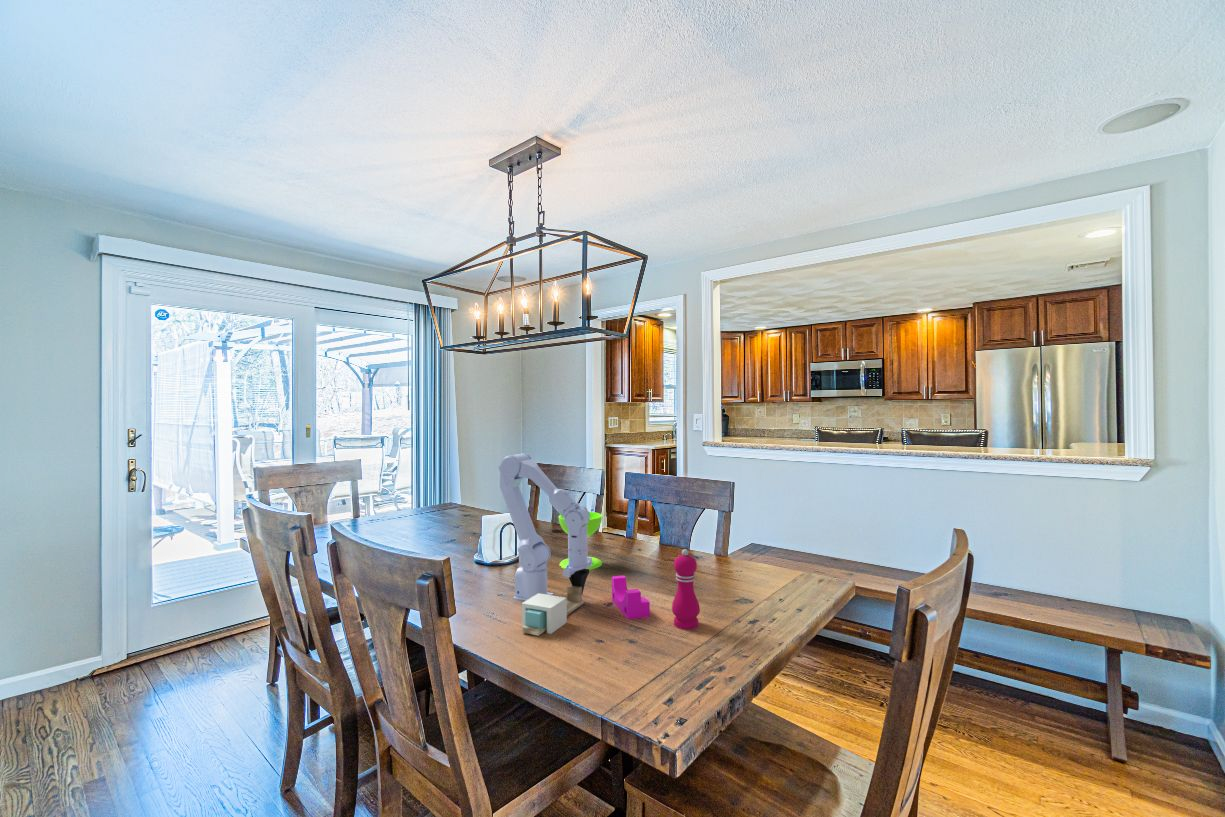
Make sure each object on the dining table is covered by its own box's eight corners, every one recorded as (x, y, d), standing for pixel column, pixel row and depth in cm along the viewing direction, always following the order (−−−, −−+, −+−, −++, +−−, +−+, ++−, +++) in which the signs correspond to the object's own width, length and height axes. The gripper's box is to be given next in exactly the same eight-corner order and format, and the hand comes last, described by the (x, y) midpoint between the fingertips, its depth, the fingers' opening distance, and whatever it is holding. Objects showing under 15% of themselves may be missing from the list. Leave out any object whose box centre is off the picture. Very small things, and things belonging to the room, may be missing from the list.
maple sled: (522, 632, 134) (522, 613, 134) (569, 600, 156) (569, 584, 156) (538, 635, 132) (538, 616, 132) (583, 603, 154) (583, 586, 154)
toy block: (649, 618, 144) (649, 590, 144) (628, 621, 142) (627, 593, 142) (631, 599, 158) (631, 574, 158) (611, 602, 156) (611, 576, 156)
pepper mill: (682, 633, 133) (681, 554, 133) (666, 623, 140) (665, 547, 140) (705, 627, 137) (704, 550, 137) (689, 618, 143) (688, 544, 143)
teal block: (525, 628, 135) (525, 611, 135) (534, 622, 138) (534, 606, 138) (539, 630, 133) (539, 614, 133) (548, 624, 137) (548, 608, 137)
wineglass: (602, 571, 185) (601, 520, 185) (556, 571, 186) (555, 520, 186) (603, 558, 201) (602, 511, 201) (561, 558, 202) (560, 511, 202)
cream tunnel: (521, 629, 137) (521, 603, 137) (538, 618, 144) (538, 593, 144) (550, 635, 133) (550, 608, 133) (566, 623, 141) (566, 597, 141)
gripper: (578, 556, 148) (578, 605, 148) (600, 544, 161) (601, 588, 161) (556, 554, 150) (556, 601, 150) (580, 542, 164) (580, 585, 164)
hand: (578, 594), depth 156 cm, fingers closed
